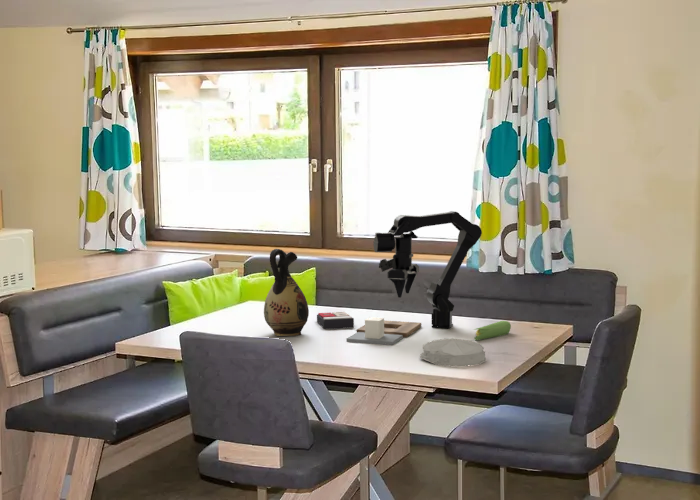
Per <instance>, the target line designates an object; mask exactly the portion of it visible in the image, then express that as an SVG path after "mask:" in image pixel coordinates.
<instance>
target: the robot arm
mask: <svg viewBox="0 0 700 500" xmlns="http://www.w3.org/2000/svg"><path fill="white" fill-rule="evenodd" d="M446 224H452V225H453V226H454V227H455V228H456V229H457V230H458V231H459V232H458V237H457V243H456V245H455V248H454V251H453V252H452V253H451V256H450V258H449V260H448V261H447V264H446V266H445V267H444V269H443V271H442V273H441V276H440V278H439V279H438V280H437V281H436V282H435V281H431V283H430V285H429V287H428V289H427V290H426V293H427V294H426V299H427V301H428V303H430V304H431V307H432V308H433V309H432V313H431V327H432V328H435V329H437V328H438V329H439V328H441V329H450V328H452V327H453V326H454V323H453V311H454V307H455V304H453V302H451V301H450V300H449V297H450V295H451V287H452V283H453V282H454V280H455V278H456V276H457V274H458V272H459V270H460V268H461V266H462V264H463V263H464V260H465V259H466V256H467V254H468V252H469V250H470V249H472V248H473V246H475V245H476V243H477V242H479V240H480V238H481V236H482V234H483V232H482V228H481V227H480V226H479V225H478V224H475V223H473V222H471V221H469V220H468V219H466V218H465V217H463V216H462V215H461V214H460V213H459V212H458V211H453V210H451V211H448V212H440V213H432V214H426V215H410V214H407V215H406V214H405V215H404V214H399V215H397V216H395V218H394V221H393V224H392V226H391V228H390V229H389V230H388V232H375V234H374V235H375V236H374V238H373V239H374V240H373V244H372V245H373V251H374V253H389V252H391V253H392V252H393V250H395V251H394V252H395V253H394V254H393V255H392V258H390V259H388V260H387V258H383V259H380V260H379V263H378V268H379V269H380V270H381V272H385V271H387V273H386V275H387V279H389V281H391V282H392V283H393V284H394V288H395V290H396V291H395V292H396V294H397V298H402V297H403V294H404V291H405V294H409V293H410V291H411V290H412V287H413V284H414V282H415V281H416V279H417V276H418V274H419V272H420V266H419V264H417V263H413V260H412V259H413V257H414V253H412V252H413V247H412V246H413V245H412V241H413V239H418V235H416V234H415V232H413V231H417V230H418V229H421V228H426V227H431V226H437V225H438V226H439V225H446ZM388 270H389V271H388Z"/></svg>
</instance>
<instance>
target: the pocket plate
mask: <svg viewBox="0 0 700 500" xmlns="http://www.w3.org/2000/svg"><path fill="white" fill-rule="evenodd" d="M421 328H422V322H413V321H412V322H411V321H401V320H400V321H397V320H385V319H384V334H394V335H403V338H408V337H409V336H411V335H413V333H415V332H416V331H418V330H419V329H421ZM357 332H365V324H364V325H362V326H360V327H358V328H357V329H356V333H357Z"/></svg>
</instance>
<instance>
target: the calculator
mask: <svg viewBox="0 0 700 500" xmlns="http://www.w3.org/2000/svg"><path fill="white" fill-rule="evenodd" d="M316 323H317V324H318V325H320V326H321V328H322V329H323V330H335V329H339V330H340V329H353V328H355V319H354V317H352V316H351V315H350V314H349V313H347V312H345V311H336V312H335V311H334V312H318V313H317V314H316Z"/></svg>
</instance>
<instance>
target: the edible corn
mask: <svg viewBox="0 0 700 500" xmlns="http://www.w3.org/2000/svg"><path fill="white" fill-rule="evenodd" d="M511 328H512V326H511V323H510V322H509V321H508V320H500V321H496V322H494V323H491V324H487V325H484V326H480V327H476V328H474V329H472V330H475V331H476V332H475V336H474V339H473V340H474V342H477V341H480V340H486V339H491V338H496V337H500V336H506V335H508V334H509V333H510V332H511Z"/></svg>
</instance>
